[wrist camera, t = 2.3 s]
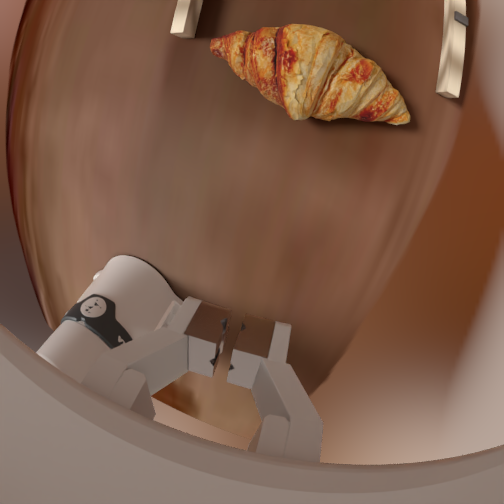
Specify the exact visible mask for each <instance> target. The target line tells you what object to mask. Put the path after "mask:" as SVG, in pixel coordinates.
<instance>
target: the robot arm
mask: <svg viewBox="0 0 504 504" xmlns="http://www.w3.org/2000/svg"><path fill="white" fill-rule="evenodd" d="M231 313H232V310H231V309H228V308H225V307H222V306H218V305H215V304H212V303H209V302H206V301H202V300H199V299H196V298H193V297H190V296H188V297H187V298H186V299H185V300H184V302H183V301H182V300H181V299H180V298H179V297H177V296H176V295H175V294H174V292H173V291H172V290H171V288H170V286H169V285H168V283H167V282H166V281H165V279H164V278H163V277H162V276H161V275H160V274H159V273H158V272H157V271H156V270H155V269H154V268H153V267H151V266H150V265H149V264H147V263H146V262H144V261H142V260H140V259H138V258H135V257H132V256H126V255H121V256H116V257H114V258H112V259H111V260H110V261H109V262H108V263H107V265H106V266H105V268H104V269H103V270H101V271H99V272H97V273H96V274H95V276H94V281H93V282H92V283H91V285H90V286H89V287H88V288H87V290H86V291H85V292H84V293H83V295H82V296H81V297H80V299H79V300H78V301H77V303H76V304H75V305H74V306H73V307H72V308H71V309H70V310H68V311H67V313H66V314H65V316H64V317H63V318H62V320H61V325H60V326H59V327H58V328H57V329H56V330H55V332H54V333H53V334H52V335H51V336H50V337H49V339H48V340H47V341H46V342H45V343H44V344H43V345H42V346H41V348H40V349H39V350H38V351H37V353H35V352H34V351H33V350H31V349H30V348H29V347H27V346H26V345H25V344H24V343H22V342H21V341H20V340H19V339H18V338H17V337H15V336H14V335H13V334H12V333H11V332H10V331H8V330H7V329H6V328H5V327H4V326H3V325H2V324H0V504H504V445H501V446H497V447H494V448H491V449H487V450H483V451H480V452H475V453H471V454H467V455H462V456H457V457H452V458H446V459H440V460H433V461H426V462H417V463H404V464H386V465H351V464H331V463H320V453H321V442H322V433H323V422H322V420H321V418H320V417H319V415H318V413H317V411H316V409H315V407H314V406H313V404H312V402H311V400H310V399H309V397H308V395H307V393H306V392H305V390H304V388H303V386H302V384H301V383H300V381H299V379H298V377H297V376H296V374H295V372H294V370H293V368H292V367H291V365H290V364H287V363H286V359H287V352H288V346H289V339H290V332H291V324H287V323H283V322H278V321H276V322H275V321H274V320H270V319H266V318H262V317H258V316H254V315H250V314H245V317H244V319H243V323H242V327H241V331H240V332H239V334H238V337H237V340H236V343H235V346H234V348H233V353H232V358H231V362H230V363H231V366H230V369H229V372H228V378H227V382H229V383H232V384H235V385H239V386H242V387H245V388H249V389H251V391H252V394H253V397H254V400H255V403H256V406H257V408H258V411H259V414H260V417H261V420H262V423H261V425H260V426H259V428H258V430H257V431H256V433H255V435H254V437H253V438H252V440H251V442H250V443H249V446H248V450H247V451H246V450H242V449H238V448H234V447H230V446H226V445H222V444H219V443H216V442H212V441H209V440H206V439H203V438H200V437H196V436H193V435H190V434H188V433H184V432H182V431H179V430H177V429H174V428H171V427H169V426H166V425H163V424H161V423H159V422H156V421H154V420H153V419H154V417H155V415H156V413H155V410H154V406H153V403H152V399H151V395H153V394H154V393H156V392H157V391H159V390H160V389H162V388H163V387H165V386H167V385H168V384H170V383H171V382H173V381H174V380H176V379H177V378H179V377H180V376H182V375H183V374H185V373H186V372H188V370H189V371H192V372H196V373H199V374H202V375H206V376H209V377H213V374H214V372H215V369H216V367H217V364H218V361H219V354H220V353H222V351H223V349H224V346H225V343H226V339H227V336H228V331H229V326H228V324H229V321H230V319H231Z"/></svg>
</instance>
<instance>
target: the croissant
mask: <svg viewBox="0 0 504 504" xmlns="http://www.w3.org/2000/svg"><path fill="white" fill-rule="evenodd" d="M210 49H211V52H212V53H213V55H215V56H217V57H219V58H221V59H225V60H226V61H228V63H229V65H230V67H231V68H232V70H233V71H234V72H235V73H236V75H237V76H239V77H240V78H241V79H242V80H246V81H248V82H249V84H250V85H252V86H253V87H256V88H258V89H259V91H260V92H261V94H262V95H263V96H264V97H265V98H266V99H268V100H269V101H271V102H273V103H275V104H278V105H280V106H281V107H283V108H285V110H286V112H287V114H288V115H289V117H290V118H291V119H293V120H304V119H307V118H309V117H310V116H312V117H314V118H316V119H322V120H326V121H330V120H332V119H337V118H353V119H357V120H361V121H364V122H374V121H384V122H387V123H390V124H394V125H399V124H406V123H408V122H410V114H409V112H408V110H407V109H406V105H405V103H404V99H403V97H402V96H401V95H400V93H399V91H397V90H396V89H394V88H393V87H392V85H391V83H390V82H389V81H388V80H387V79H386V76H385V74H384V72H383V71H382V69H381V68H380V67H379V66H378V65H376V63H375V62H374V61H372V60H370V59H366V58H364V57H363V56H362V55H361V54H359V53H358V51H356V50H355V49H353V48H352V46H351V45H348V44H346V42H345V40H344V39H343V38H341V37H340V36H339V35H337V34H336V33H333V32H332V31H329V30H326V29H323V28H321V27H316V26H312V25H304V24H289V25H285V26H283V27H270V28H268V27H264V28H261V29H259V30H257V31H256V32H253V33H251V32H246V31H243V30H241V31H236V32H233V33H231V34H228V35H224V36H222V37H216V38H213V39H212V40H211V44H210Z"/></svg>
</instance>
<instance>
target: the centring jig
mask: <svg viewBox="0 0 504 504" xmlns="http://www.w3.org/2000/svg"><path fill="white" fill-rule="evenodd" d="M202 3H203V0H178V3H177V7H176V11H175V15H174V19H173V24H172V28H171V34H174V35H176V36H178V37H181V38H195V33H196V28H197V24H198V19H199V15H200V11H201V7H202ZM467 26H468V18H467V17H466V0H444V28H443V41H442V51H441V60H440V67H439V74H438V80H437V86H436V93H438V94H440V95H442V96H444V97H446V98H459V92H460V86H461V79H462V71H463V62H464V52H465V36H466V27H467Z"/></svg>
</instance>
